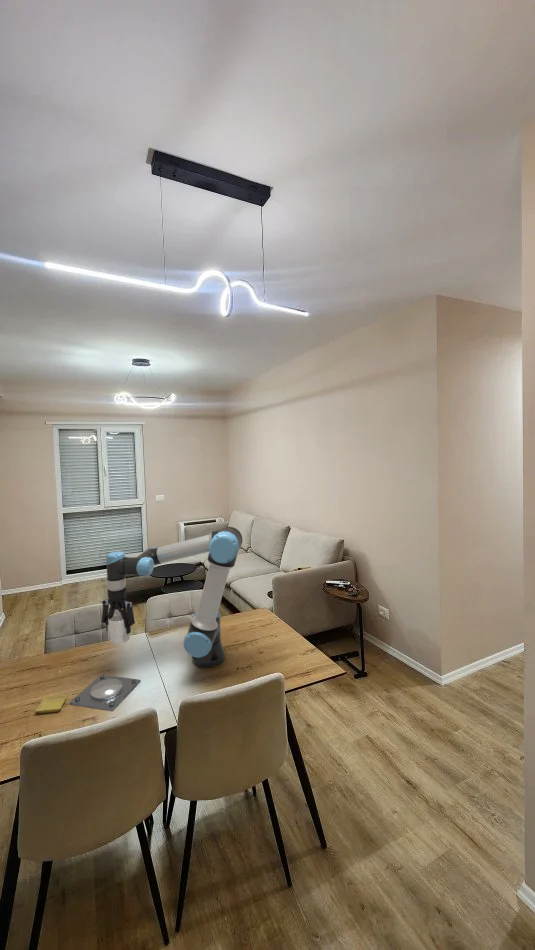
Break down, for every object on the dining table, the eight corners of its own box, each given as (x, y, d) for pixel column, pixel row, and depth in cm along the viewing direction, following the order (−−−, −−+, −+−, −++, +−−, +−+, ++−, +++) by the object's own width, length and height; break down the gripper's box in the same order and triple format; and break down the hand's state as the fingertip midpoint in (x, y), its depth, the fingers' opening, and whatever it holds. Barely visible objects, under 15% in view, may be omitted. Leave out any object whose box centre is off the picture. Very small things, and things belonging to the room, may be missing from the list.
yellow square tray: (68, 699, 155) (68, 694, 155) (60, 713, 146) (60, 708, 146) (45, 701, 153) (44, 696, 153) (35, 716, 145) (35, 711, 145)
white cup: (121, 645, 166) (120, 622, 165) (105, 643, 168) (104, 620, 167) (132, 636, 174) (131, 614, 173) (116, 634, 175) (115, 613, 175)
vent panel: (140, 681, 165) (140, 676, 165) (113, 711, 147) (112, 705, 147) (101, 676, 169) (100, 671, 169) (69, 704, 151) (69, 699, 151)
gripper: (142, 586, 170) (144, 638, 172) (102, 583, 175) (104, 633, 177) (132, 593, 163) (134, 646, 164) (90, 589, 168) (93, 640, 170)
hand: (118, 639), depth 171 cm, fingers closed on white cup, 7 cm apart
